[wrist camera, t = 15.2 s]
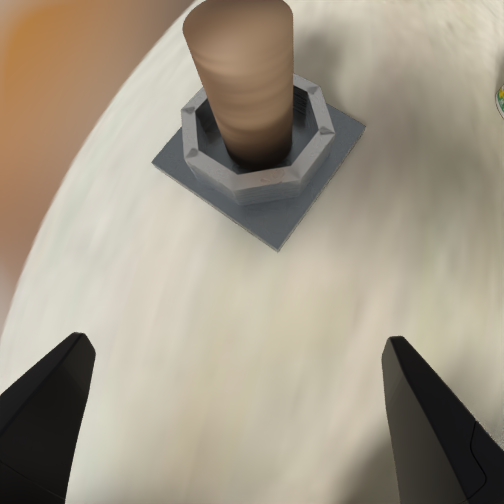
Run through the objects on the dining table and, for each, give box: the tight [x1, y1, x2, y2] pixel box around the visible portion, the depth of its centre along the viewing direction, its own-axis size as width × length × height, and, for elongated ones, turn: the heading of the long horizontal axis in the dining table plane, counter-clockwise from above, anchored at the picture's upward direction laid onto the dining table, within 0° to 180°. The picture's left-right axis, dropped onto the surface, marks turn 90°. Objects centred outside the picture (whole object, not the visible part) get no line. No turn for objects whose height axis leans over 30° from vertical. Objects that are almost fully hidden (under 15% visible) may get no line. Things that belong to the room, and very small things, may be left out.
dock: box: [151, 73, 366, 252], centre depth 22 cm, size 12×12×4 cm
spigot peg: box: [183, 0, 293, 170], centre depth 18 cm, size 5×5×12 cm
